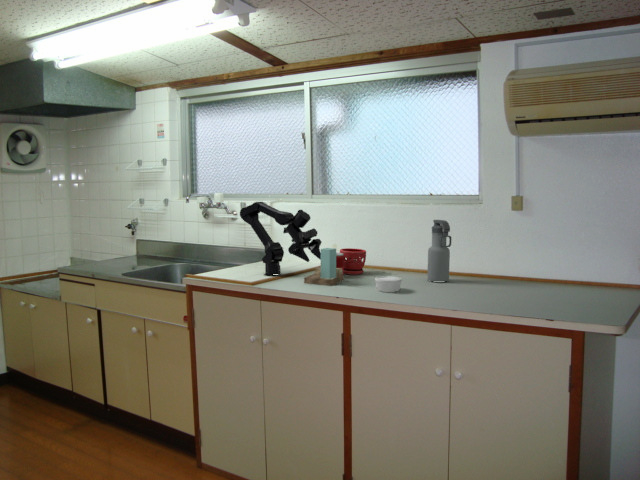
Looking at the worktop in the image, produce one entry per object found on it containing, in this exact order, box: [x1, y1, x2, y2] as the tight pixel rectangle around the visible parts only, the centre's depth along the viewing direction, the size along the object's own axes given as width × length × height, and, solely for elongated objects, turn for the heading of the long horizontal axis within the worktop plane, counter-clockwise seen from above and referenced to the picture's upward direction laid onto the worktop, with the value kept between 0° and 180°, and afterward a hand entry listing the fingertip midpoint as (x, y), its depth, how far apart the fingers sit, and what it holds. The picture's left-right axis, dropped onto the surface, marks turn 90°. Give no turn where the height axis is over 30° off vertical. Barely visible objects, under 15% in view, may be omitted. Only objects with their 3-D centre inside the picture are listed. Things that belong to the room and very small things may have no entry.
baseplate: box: [303, 272, 345, 286], centre depth 244 cm, size 14×14×3 cm
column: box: [320, 247, 337, 279], centre depth 240 cm, size 5×5×13 cm
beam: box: [314, 266, 342, 276], centre depth 249 cm, size 12×4×3 cm, turn 68°
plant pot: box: [339, 247, 367, 276], centre depth 265 cm, size 13×13×12 cm
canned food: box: [336, 252, 344, 275], centre depth 257 cm, size 8×8×11 cm
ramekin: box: [374, 275, 402, 293], centre depth 225 cm, size 11×11×5 cm
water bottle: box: [426, 219, 452, 282], centre depth 245 cm, size 10×10×28 cm
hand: (315, 260), depth 245 cm, fingers open, 9 cm apart
